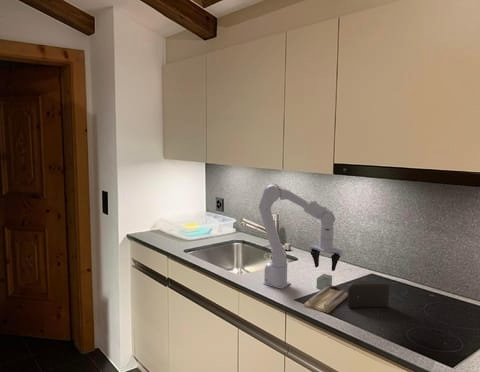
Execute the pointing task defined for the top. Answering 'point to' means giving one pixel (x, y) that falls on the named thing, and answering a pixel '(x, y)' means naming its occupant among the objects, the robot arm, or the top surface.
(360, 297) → the leaning round-cornered charcoal block
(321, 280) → the module
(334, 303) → the rail board
